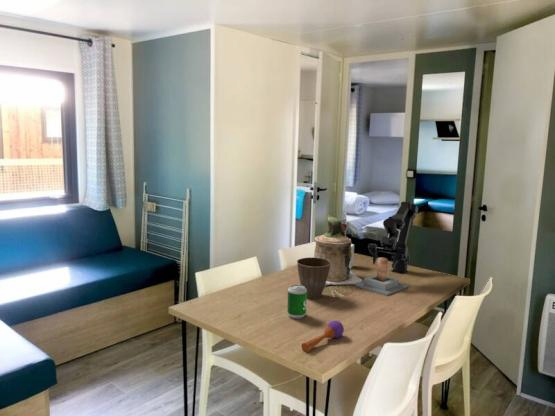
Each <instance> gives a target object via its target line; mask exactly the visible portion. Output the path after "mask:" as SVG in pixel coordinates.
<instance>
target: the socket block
mask: <svg viewBox="0 0 555 416" xmlns="http://www.w3.org/2000/svg"><path fill="white" fill-rule="evenodd" d="M354 287H356V288H359V289H361V290H362V289H363V290H365V291H369V292H372V293H376V294H379V295H383V296H390V295H392V294H395V293H397V292H400V291H402V290H405V289H407V288H408V285H407V284H404V283H403V284H402V283H400V278H395V277H392V276H388V275H387V276H386V281H385V282H381V281H378V280H377V273H375V274H373V275H370V276H366V277H364V278H363V280H362V282H360V283H357V284H354Z"/></svg>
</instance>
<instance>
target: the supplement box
mask: <svg viewBox="0 0 555 416" xmlns="http://www.w3.org/2000/svg"><path fill="white" fill-rule="evenodd" d="M354 252H355V244H353V243H352V244H351V253H352V254H351V255H352V257H351V260H350V263H349V268H350V270H351V268H353V267H354V254H355V253H354Z"/></svg>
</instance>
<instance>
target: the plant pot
mask: <svg viewBox="0 0 555 416" xmlns="http://www.w3.org/2000/svg"><path fill="white" fill-rule="evenodd" d="M296 263H297V273H298V278H299V283H300V284H299V285H302V286H304V287H305V288H306V289H307V299H311V300H316V299H320V298H321V296H322V294H323V292H324V289H325V287H326V285H325V284H326V281H327V278H328V274H329V269H330V264H331V263H330V261H328V260H326V259H322V258H314V257H302V258H300V259H297V260H296Z"/></svg>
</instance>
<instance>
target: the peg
mask: <svg viewBox="0 0 555 416" xmlns="http://www.w3.org/2000/svg"><path fill="white" fill-rule="evenodd" d="M376 269H377V270H376V274H377V280H378V281H381V282H385V281H386V276H388V275H387V273H388V258H387V257H377V267H376Z"/></svg>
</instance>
